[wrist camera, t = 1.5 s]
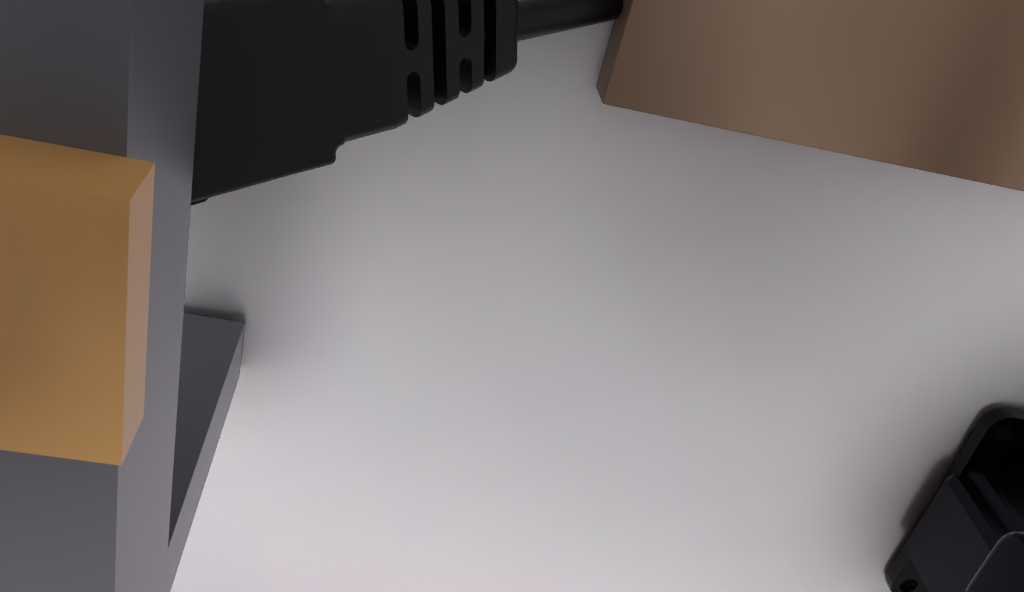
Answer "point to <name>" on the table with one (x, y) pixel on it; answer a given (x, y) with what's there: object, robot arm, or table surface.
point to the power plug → (345, 73)
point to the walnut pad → (836, 76)
